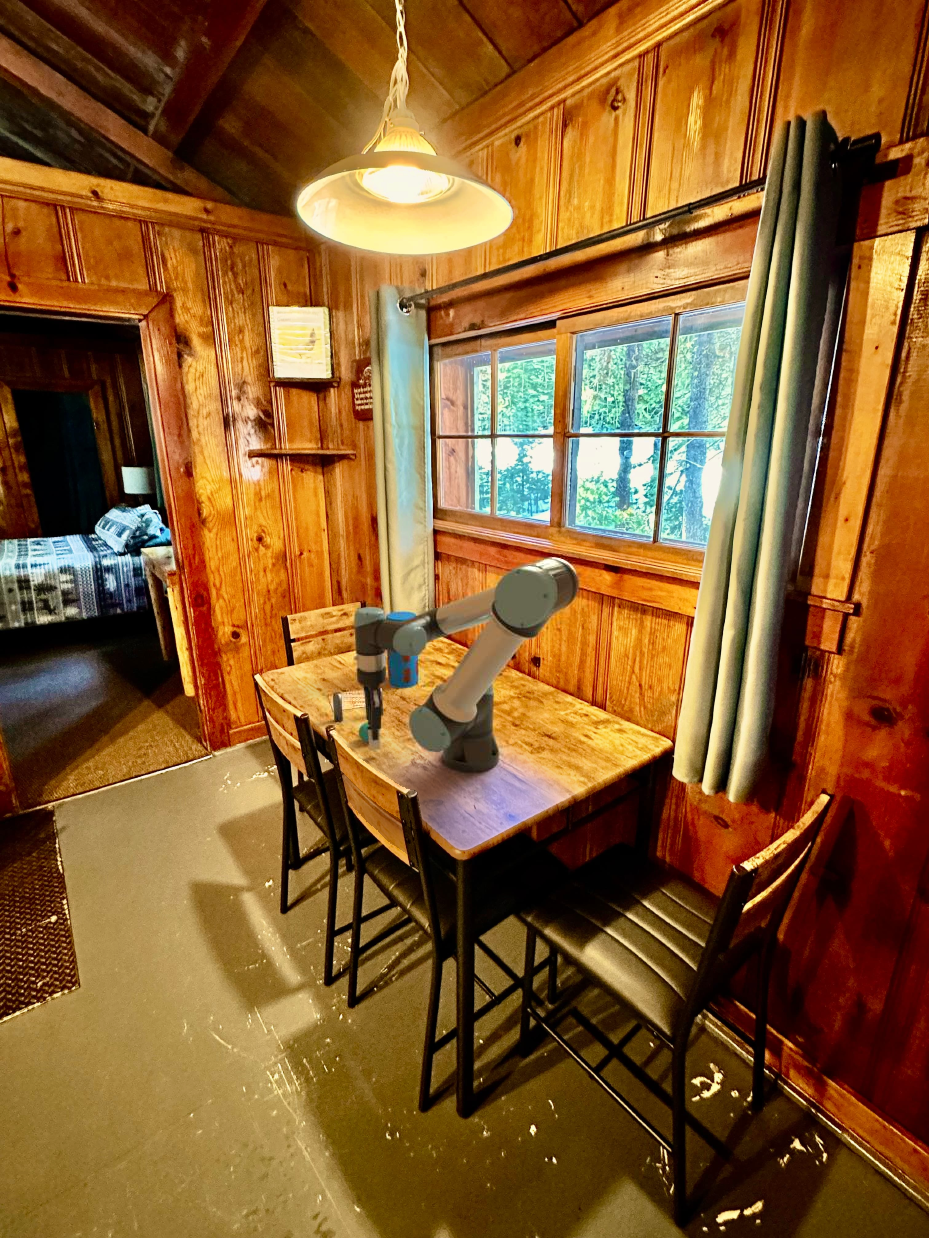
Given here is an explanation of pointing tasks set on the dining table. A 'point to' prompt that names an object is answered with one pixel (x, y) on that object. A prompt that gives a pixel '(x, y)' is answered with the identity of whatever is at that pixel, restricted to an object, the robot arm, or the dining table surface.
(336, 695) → the post left
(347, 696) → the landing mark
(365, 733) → the ball
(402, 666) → the thermos
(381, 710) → the post right
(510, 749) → the dining table surface
